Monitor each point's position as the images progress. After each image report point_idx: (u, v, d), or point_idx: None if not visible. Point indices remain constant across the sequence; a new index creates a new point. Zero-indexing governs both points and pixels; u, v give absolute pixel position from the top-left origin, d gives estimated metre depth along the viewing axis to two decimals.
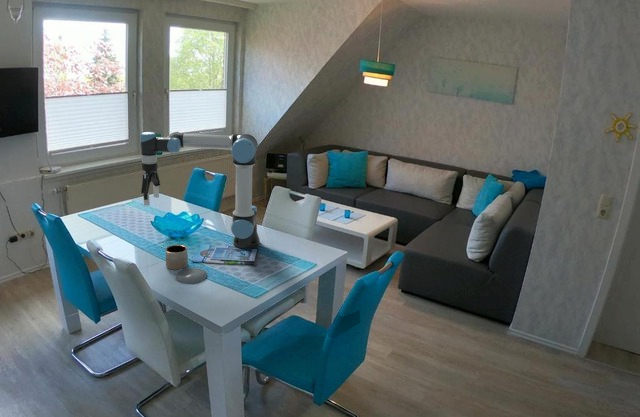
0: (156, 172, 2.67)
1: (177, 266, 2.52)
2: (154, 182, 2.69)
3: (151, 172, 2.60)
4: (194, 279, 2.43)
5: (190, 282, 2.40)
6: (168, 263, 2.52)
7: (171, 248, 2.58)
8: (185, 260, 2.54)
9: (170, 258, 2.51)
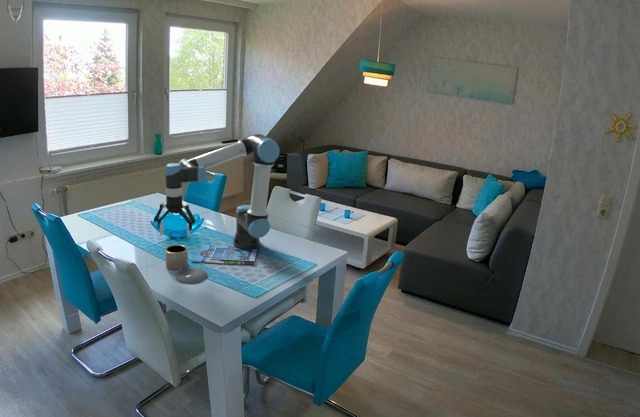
0: (185, 209, 2.46)
1: (177, 266, 2.52)
2: None
3: (172, 205, 2.46)
4: (194, 279, 2.43)
5: (190, 282, 2.40)
6: (168, 263, 2.52)
7: (171, 248, 2.58)
8: (185, 260, 2.54)
9: (170, 258, 2.51)
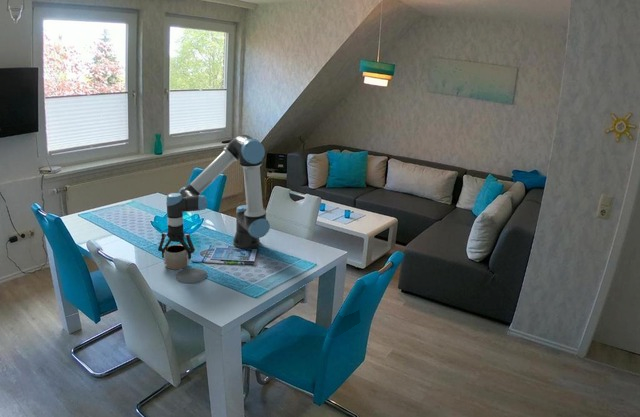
0: (186, 238, 2.51)
1: (177, 266, 2.52)
2: None
3: (173, 233, 2.51)
4: (194, 279, 2.43)
5: (190, 282, 2.40)
6: (168, 263, 2.52)
7: (171, 248, 2.57)
8: (185, 260, 2.54)
9: (170, 258, 2.51)
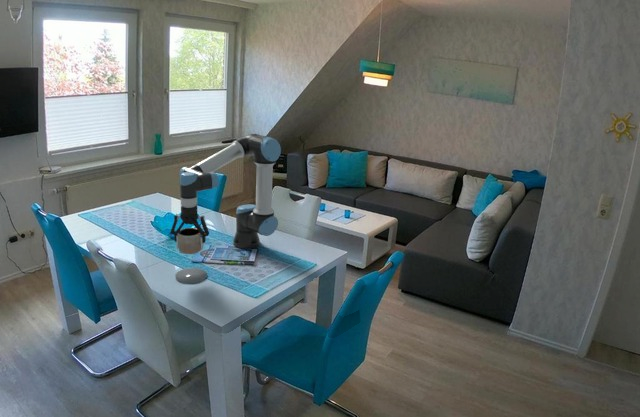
0: None
1: (190, 250, 2.37)
2: None
3: (186, 215, 2.36)
4: (194, 279, 2.43)
5: (190, 282, 2.40)
6: (181, 247, 2.37)
7: (184, 231, 2.43)
8: (199, 244, 2.40)
9: (183, 242, 2.36)
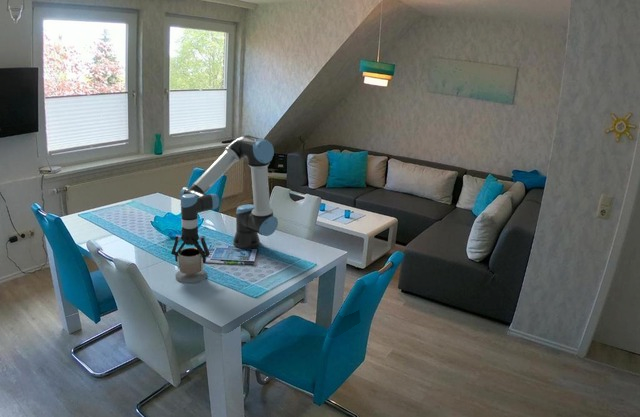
0: (201, 241, 2.40)
1: (191, 270, 2.40)
2: None
3: (187, 236, 2.39)
4: (194, 279, 2.43)
5: (190, 282, 2.40)
6: (182, 267, 2.41)
7: (185, 251, 2.46)
8: (199, 264, 2.43)
9: (184, 262, 2.39)
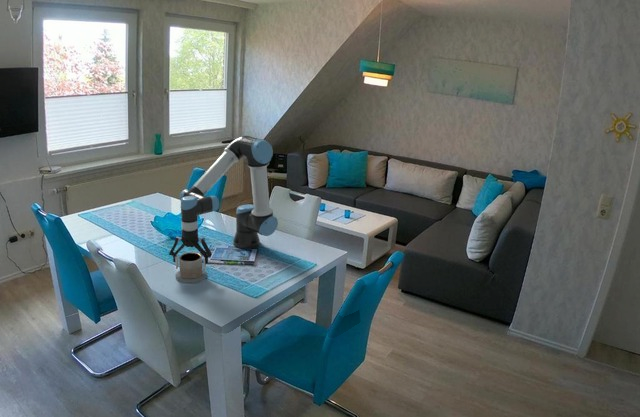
0: None
1: (191, 275, 2.41)
2: None
3: (187, 239, 2.40)
4: (194, 279, 2.43)
5: (190, 282, 2.40)
6: (182, 272, 2.42)
7: (185, 256, 2.47)
8: (200, 269, 2.44)
9: (184, 267, 2.40)
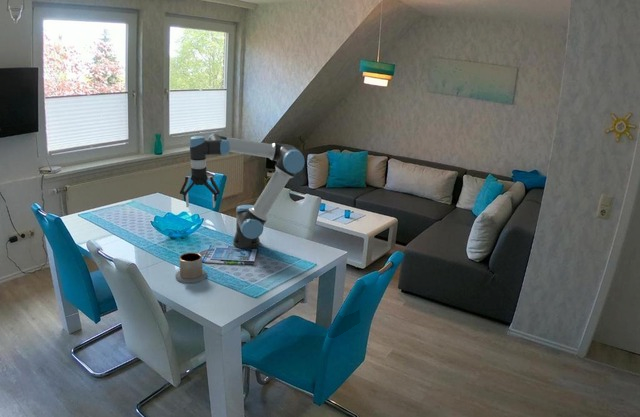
0: (210, 180, 2.55)
1: (191, 275, 2.41)
2: None
3: (197, 177, 2.54)
4: (194, 279, 2.43)
5: (190, 282, 2.40)
6: (182, 272, 2.42)
7: (185, 256, 2.47)
8: (200, 269, 2.44)
9: (184, 267, 2.40)
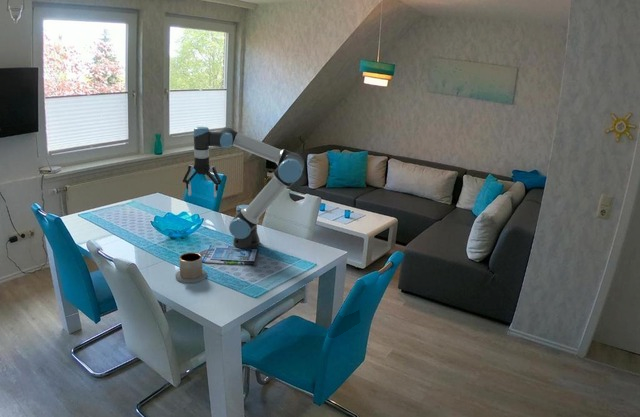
0: (212, 170, 2.62)
1: (191, 275, 2.41)
2: None
3: (199, 166, 2.61)
4: (194, 279, 2.43)
5: (190, 282, 2.40)
6: (182, 272, 2.42)
7: (185, 256, 2.47)
8: (200, 269, 2.44)
9: (184, 267, 2.40)
